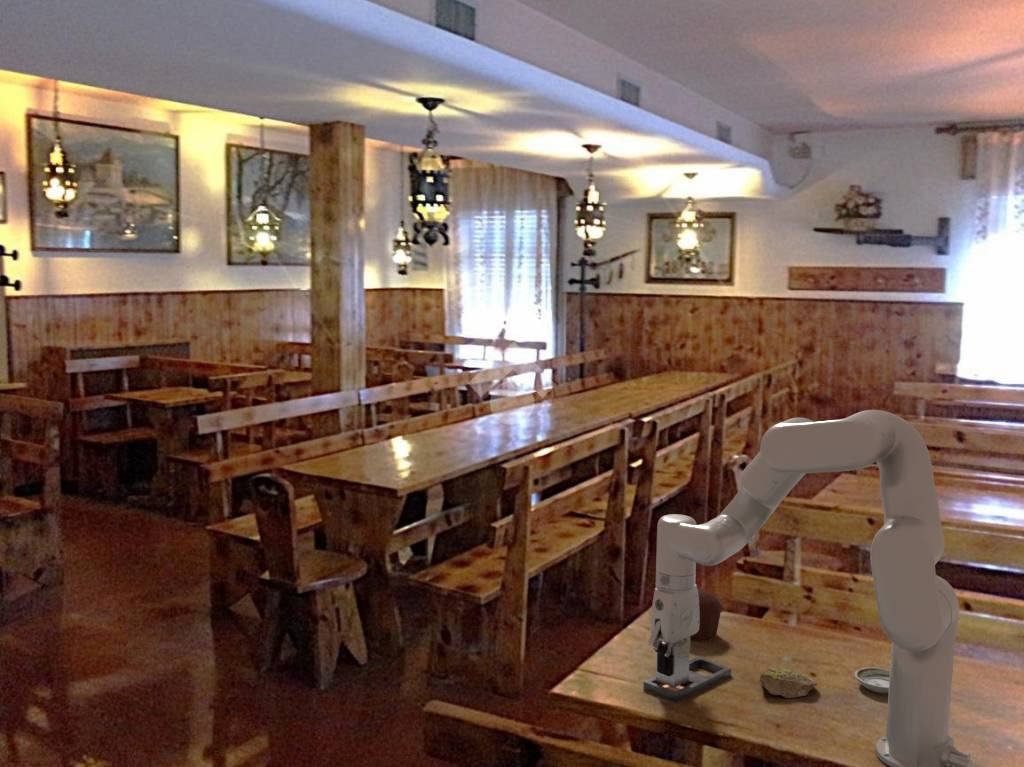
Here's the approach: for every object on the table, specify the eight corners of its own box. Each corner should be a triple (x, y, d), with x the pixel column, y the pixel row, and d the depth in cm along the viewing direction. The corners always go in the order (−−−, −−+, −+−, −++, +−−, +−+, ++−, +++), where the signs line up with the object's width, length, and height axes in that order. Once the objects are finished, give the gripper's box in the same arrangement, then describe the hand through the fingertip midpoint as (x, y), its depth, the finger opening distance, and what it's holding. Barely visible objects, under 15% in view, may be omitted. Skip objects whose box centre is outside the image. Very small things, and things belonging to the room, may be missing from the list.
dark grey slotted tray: (731, 675, 194) (731, 668, 194) (676, 702, 182) (676, 695, 181) (698, 663, 200) (698, 656, 199) (643, 688, 187) (643, 681, 187)
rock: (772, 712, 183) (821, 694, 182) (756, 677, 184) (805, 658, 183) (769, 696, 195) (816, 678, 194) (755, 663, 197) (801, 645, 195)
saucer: (917, 693, 187) (918, 681, 186) (881, 703, 182) (882, 691, 182) (878, 674, 195) (879, 663, 195) (843, 683, 191) (843, 672, 190)
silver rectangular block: (688, 681, 187) (689, 641, 186) (674, 687, 184) (675, 648, 183) (670, 673, 190) (671, 635, 189) (655, 680, 187) (656, 641, 186)
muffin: (711, 648, 208) (712, 603, 207) (663, 637, 214) (664, 594, 212) (729, 630, 218) (730, 588, 217) (683, 621, 224) (684, 579, 222)
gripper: (663, 594, 176) (660, 689, 178) (717, 574, 188) (714, 664, 190) (632, 584, 182) (629, 676, 184) (686, 565, 193) (683, 652, 195)
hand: (672, 669), depth 187 cm, fingers closed on silver rectangular block, 4 cm apart
